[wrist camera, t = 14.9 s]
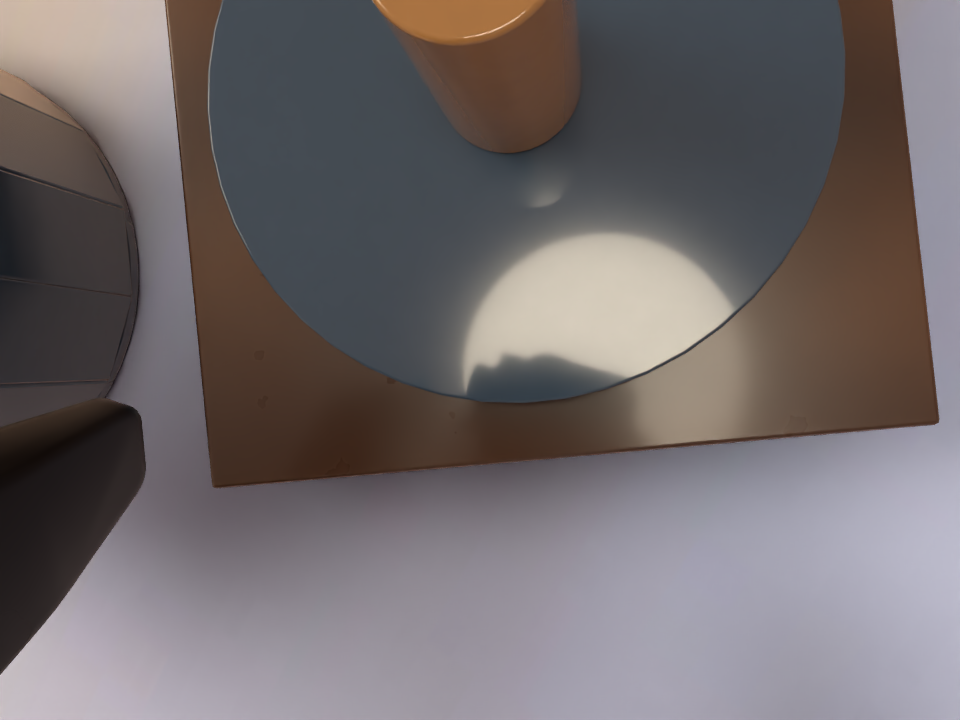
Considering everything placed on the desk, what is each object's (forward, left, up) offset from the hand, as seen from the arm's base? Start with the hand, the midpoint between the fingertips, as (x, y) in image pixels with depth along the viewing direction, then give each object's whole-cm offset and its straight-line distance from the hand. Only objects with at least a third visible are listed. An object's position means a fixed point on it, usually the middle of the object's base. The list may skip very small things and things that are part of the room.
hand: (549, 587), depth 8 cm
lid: (+7, 0, -8) cm, 11 cm away
